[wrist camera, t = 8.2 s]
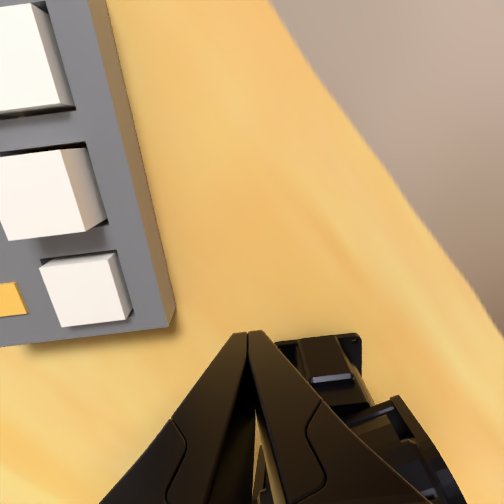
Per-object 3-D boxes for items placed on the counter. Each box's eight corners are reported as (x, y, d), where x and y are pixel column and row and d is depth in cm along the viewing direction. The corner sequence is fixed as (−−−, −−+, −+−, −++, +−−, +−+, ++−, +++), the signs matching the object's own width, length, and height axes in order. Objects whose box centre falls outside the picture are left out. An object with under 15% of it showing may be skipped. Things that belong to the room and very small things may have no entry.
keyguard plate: (176, 306, 22) (167, 329, 19) (20, 325, 22) (-9, 349, 20) (103, -9, 16) (76, -36, 13) (-114, 20, 16) (-181, -2, 13)
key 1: (89, 108, 17) (59, 102, 14) (21, 117, 17) (-22, 113, 14) (67, 26, 16) (30, 2, 13) (-7, 36, 16) (-60, 15, 13)
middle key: (109, 216, 18) (85, 231, 15) (44, 224, 18) (8, 240, 15) (90, 147, 17) (59, 149, 14) (20, 156, 17) (-25, 160, 14)
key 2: (140, 295, 21) (125, 319, 18) (85, 302, 21) (61, 327, 19) (126, 242, 20) (107, 259, 17) (67, 249, 20) (38, 268, 17)
